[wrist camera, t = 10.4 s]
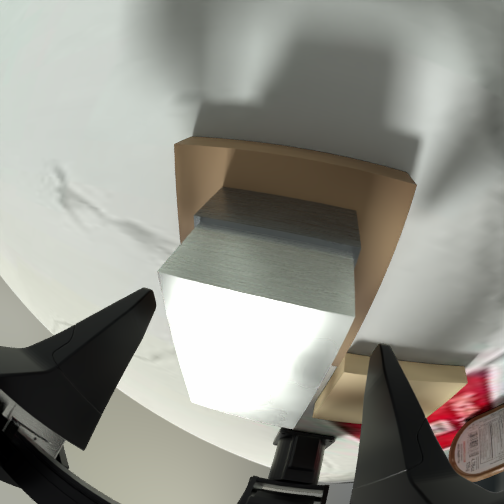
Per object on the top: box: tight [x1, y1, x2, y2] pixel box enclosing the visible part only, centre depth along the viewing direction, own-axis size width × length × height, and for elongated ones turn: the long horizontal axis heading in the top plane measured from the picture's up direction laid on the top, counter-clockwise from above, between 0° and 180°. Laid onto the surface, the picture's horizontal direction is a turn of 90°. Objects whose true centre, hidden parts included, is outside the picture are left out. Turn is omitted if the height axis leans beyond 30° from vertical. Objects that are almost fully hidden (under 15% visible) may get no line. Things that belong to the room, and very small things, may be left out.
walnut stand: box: [174, 136, 417, 367], centre depth 13 cm, size 11×9×2 cm
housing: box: [157, 187, 361, 429], centre depth 10 cm, size 5×8×5 cm, turn 177°
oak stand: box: [312, 353, 468, 424], centre depth 17 cm, size 8×10×2 cm
